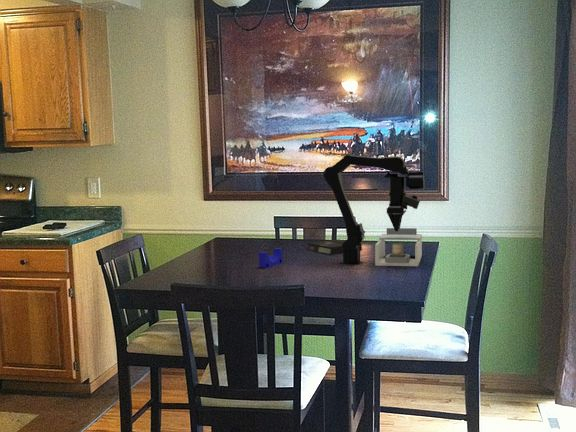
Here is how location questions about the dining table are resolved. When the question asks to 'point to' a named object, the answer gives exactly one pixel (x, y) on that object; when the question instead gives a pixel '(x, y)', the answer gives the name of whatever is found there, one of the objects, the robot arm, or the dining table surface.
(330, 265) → the dining table surface
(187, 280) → the dining table surface
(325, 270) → the dining table surface
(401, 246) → the jaw peg
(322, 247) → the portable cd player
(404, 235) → the lid
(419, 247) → the housing
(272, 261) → the cable clip
